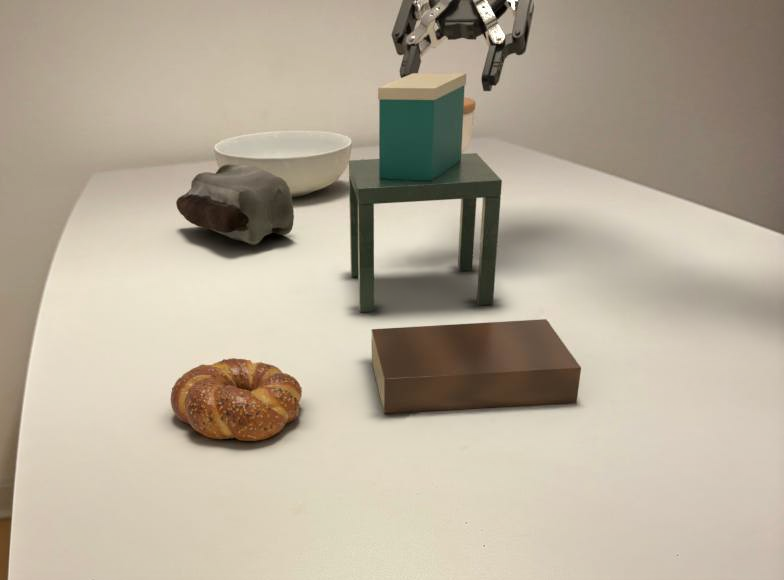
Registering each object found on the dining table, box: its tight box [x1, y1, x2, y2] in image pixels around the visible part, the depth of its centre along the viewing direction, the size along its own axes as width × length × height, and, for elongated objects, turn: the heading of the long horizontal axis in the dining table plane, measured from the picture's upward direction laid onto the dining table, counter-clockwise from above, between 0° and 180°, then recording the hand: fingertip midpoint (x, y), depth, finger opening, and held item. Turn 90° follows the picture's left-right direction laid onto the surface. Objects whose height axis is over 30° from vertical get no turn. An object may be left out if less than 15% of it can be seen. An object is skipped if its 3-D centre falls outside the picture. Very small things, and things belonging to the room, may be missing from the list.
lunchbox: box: [377, 72, 467, 181], centre depth 95 cm, size 10×6×8 cm, turn 156°
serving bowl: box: [213, 130, 353, 198], centre depth 144 cm, size 21×21×7 cm
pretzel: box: [170, 357, 303, 442], centre depth 78 cm, size 12×11×4 cm
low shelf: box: [371, 318, 582, 414], centre depth 82 cm, size 16×12×3 cm
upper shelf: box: [348, 152, 503, 313], centre depth 101 cm, size 14×14×12 cm
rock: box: [175, 164, 295, 246], centre depth 124 cm, size 18×11×8 cm, turn 31°
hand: (446, 85), depth 99 cm, fingers open, 8 cm apart
